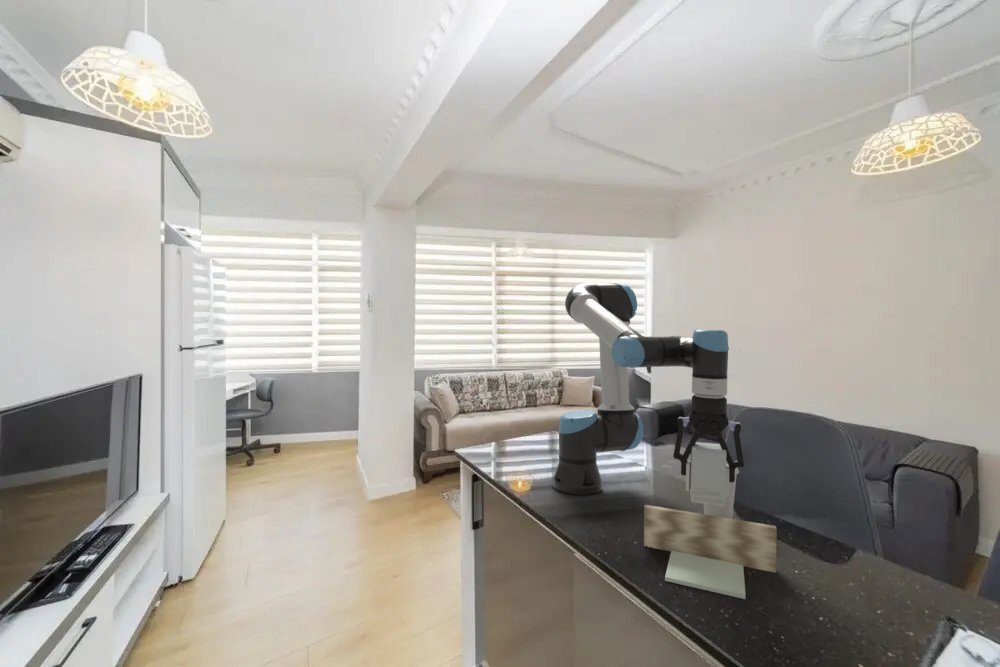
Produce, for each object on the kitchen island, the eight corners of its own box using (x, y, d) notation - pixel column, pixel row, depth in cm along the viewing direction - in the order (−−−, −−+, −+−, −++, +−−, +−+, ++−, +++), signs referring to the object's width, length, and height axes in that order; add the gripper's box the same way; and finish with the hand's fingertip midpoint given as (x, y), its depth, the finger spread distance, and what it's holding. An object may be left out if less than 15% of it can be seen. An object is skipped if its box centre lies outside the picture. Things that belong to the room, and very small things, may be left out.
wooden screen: (644, 546, 106) (644, 506, 105) (645, 543, 107) (645, 504, 107) (776, 572, 94) (776, 528, 94) (775, 569, 96) (775, 526, 95)
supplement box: (726, 507, 104) (727, 451, 104) (690, 502, 107) (691, 448, 106) (722, 495, 111) (723, 443, 111) (689, 491, 114) (690, 440, 113)
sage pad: (664, 580, 91) (665, 576, 91) (671, 554, 102) (671, 550, 102) (745, 599, 85) (745, 594, 85) (743, 568, 96) (743, 565, 96)
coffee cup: (743, 527, 116) (744, 467, 115) (702, 524, 118) (703, 465, 117) (732, 512, 125) (732, 457, 125) (694, 510, 127) (695, 455, 127)
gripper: (661, 394, 109) (659, 489, 110) (760, 401, 100) (757, 505, 101) (664, 390, 116) (662, 480, 117) (758, 396, 107) (755, 494, 108)
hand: (706, 491), depth 109 cm, fingers closed on supplement box, 8 cm apart
